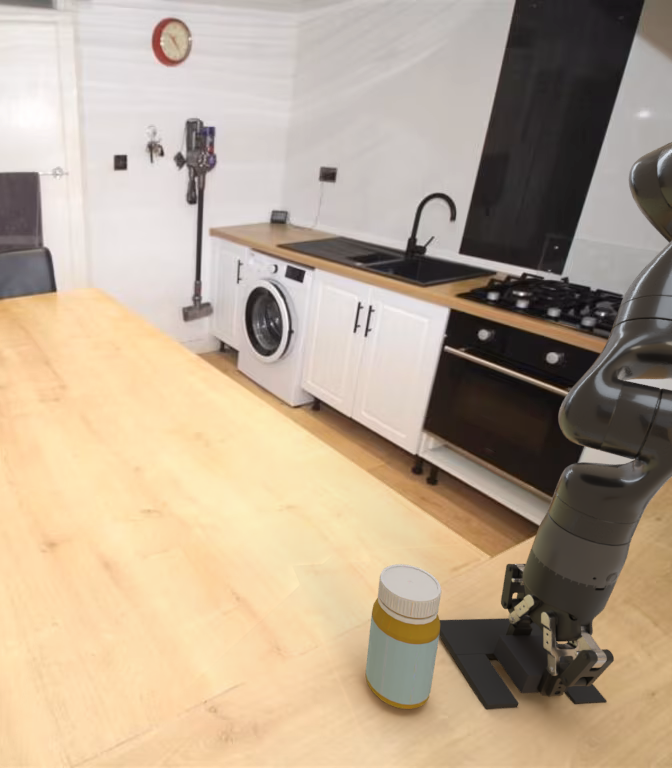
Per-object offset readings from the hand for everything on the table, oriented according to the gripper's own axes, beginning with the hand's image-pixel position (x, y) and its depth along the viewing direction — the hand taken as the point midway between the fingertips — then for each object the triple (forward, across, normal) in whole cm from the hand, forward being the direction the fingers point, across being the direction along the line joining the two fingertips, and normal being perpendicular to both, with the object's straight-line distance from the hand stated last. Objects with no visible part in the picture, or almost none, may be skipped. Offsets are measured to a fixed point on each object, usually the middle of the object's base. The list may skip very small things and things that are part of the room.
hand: (530, 669), depth 64 cm
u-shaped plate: (+2, -3, 0) cm, 3 cm away
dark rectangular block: (0, 0, 0) cm, 0 cm away
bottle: (+2, 0, -16) cm, 16 cm away
